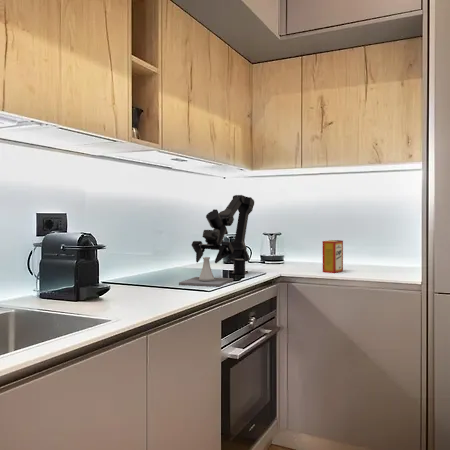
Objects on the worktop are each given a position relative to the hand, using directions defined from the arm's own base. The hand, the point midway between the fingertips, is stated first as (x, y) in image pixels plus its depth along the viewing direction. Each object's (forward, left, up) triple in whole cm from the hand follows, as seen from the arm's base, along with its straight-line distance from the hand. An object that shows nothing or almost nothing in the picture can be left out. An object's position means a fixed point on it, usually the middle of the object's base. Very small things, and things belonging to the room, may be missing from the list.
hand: (205, 262), depth 201 cm
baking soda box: (-54, +47, -9) cm, 72 cm away
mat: (-1, 0, -9) cm, 9 cm away
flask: (0, 0, -8) cm, 8 cm away
